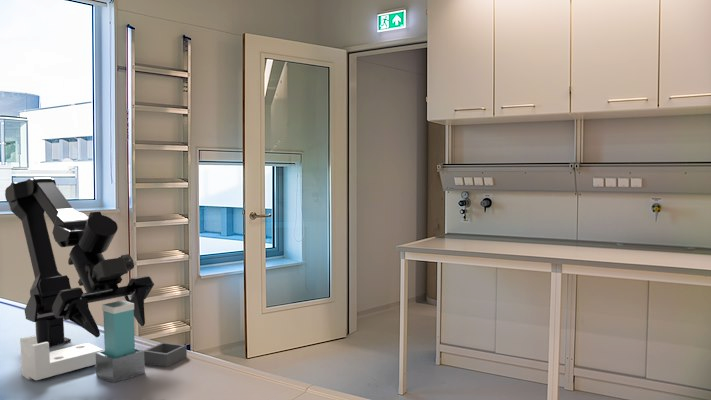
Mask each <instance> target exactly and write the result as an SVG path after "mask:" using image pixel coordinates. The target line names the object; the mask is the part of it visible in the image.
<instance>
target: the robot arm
mask: <svg viewBox="0 0 711 400" xmlns="http://www.w3.org/2000/svg"><path fill="white" fill-rule="evenodd" d="M4 196H5V200H6V203H8V205H9V209H10V211H11V212H12V213H13V214H14V215H15V216H16V217H17V218H18V219H19V220H20V221H21V222H22V223H21V224H22V227H23V231H24V232H23V233H24V236H25V237H24V238H25V241H26V246H27V249H28V250H27V251H28V253H29V258H30V262H31V266H32V270H33V275H34V280H33V282H32V285H31V287H30V289H29V296H30V297H29V299H28V301H27V303H26V306H25V308H24V316H25V319H26V320H28V321H30V322H32V323H35V324H34V325H35V336H36V337H37V344H39V343H43V342H49V348H51V347H55V346H58V345H59V346H60V345H61V344H66V343H70V342H71V341H72V339H71V338H68V337H66V336H65V326H64V325H65V324H64V321H70V322H72V323H74V324H76V325H78V326H80V327H81V328H83V329H84V330H86V331H87V332H88V333H89V334H91V335H92V336H94V337H95V338H99V337H100V336H101V333H100V330H99V326H98V325H97V322H96V320H95V318H94V316H93V314H92V312H91V311H90V309H89V303H90V304H91V303H96V302H101V301H102V302H103V301H108V300H112V299H118V298H123V297H124V299H125V301H127V302H131V303H134V319H136V322H137V323H138V324H139V325H140V327H144V326H145V323H146V315H145V300H146V299H147V297H148V295H149V294H150V292H151V290H153V288H154V286H155V283H154V281H153V279H152V277H150V275H149V276H148V275H143V276H136V277H131V278H130V280H129V281H128V283H127V284H126V285H124V286H120V287H119V286H118V285H119V284H121V283H122V281H123V278H122V277H123V275H124V276H125V275H127V274H128V273H129V272H130V271H131V270H133V269H134V268H135V263H134V259H133V257H132V256H131V255H130V253H128V254H121V255H120V256H119V257H116V258H108V259H107V258H106V259H105V256H104V255H103V253H105V252H107V250H108V249H109V247H110V245H111V243H112V241H113V239H114V237H115V235H116V233H117V231H118V229H119V228H118V223H117V221H115V220H114V219H112V218H111V217H109V216H106V215H105V214H102V212H101V211H90V213H89V215H88V216H87V214H85V212H84V213H83V212H81V211H77V210H76V209H74V208H73V206H72V205H71V203H70V202H69V201H68V199H66V198H65V196H64V194H63V193H62V192H61V190H60V189H59V187H57V184H56V181H55V178H53V177H52V178H51V177H50V176H44V177H42V176H41V177H31V178H28V179H27V180H23V181H19V182H17V181H16V182H15V181H14V182H13V181H12V182H11V183H10V185H8V186H7V187H6V188H5V191H4ZM45 213H46V215H47V217H49V219H50V221H51V222H52V223H53V227H52V236H53V239H54V241H55V242H56V243H57V245H58V246H59V247H60V248H69V247H72V248H71V250H70V252H69V257H68V260H67V261H68V262H67V263H68V266H71V265H72V266H74V269H75V271H76V273H77V275H78V278H79V279H78V281H77V284H78V285H79V287H73V288H72V287H71V282H70V278H69V277H68V275H66V274H65V275H63V274H61V273H60V272H59V270H58V267H57V262H56V257H55V255H54V254H55V253H54V249H53V246H52V242H51V239H50V234H49V229H48V226H47V222H46V217H45ZM81 286H83V288H84V291H85V292H84V291H83V289H82V288H81Z"/></svg>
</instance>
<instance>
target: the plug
mask: <svg viewBox="0 0 711 400" xmlns="http://www.w3.org/2000/svg"><path fill="white" fill-rule="evenodd" d="M101 309H102V311H103V335H104V336H103V337H104V340H103V341H104V342H103V343H104V350H105V355H107V356H109V357H111V358H117V357H120V356H124V355H127V354H131V353H135V347H136V345H135V317H134V303H131V302H128V301H126V300H117V301H114V302H113V301H112V302H108V303H103V304H102V305H101Z"/></svg>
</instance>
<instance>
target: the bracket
mask: <svg viewBox="0 0 711 400" xmlns="http://www.w3.org/2000/svg"><path fill="white" fill-rule="evenodd" d="M19 341H20V343H19V344H20V360H21V363H20V364H21V376H23V377H24V378H26V379H27V380H32V379H33V380H34V381H39V380H42V379H47V378H50V377H53V376H57V375H60V374H65V373H69V372H72V371H75V370H79V369H83V368H86V367H87V368H88V367H91V366H96V352H100V351H104V350H105V349H103V348H100V347H99V346H96V345H94V344H92V343H89V342H86V343H85V342H84V343H81V344H77V345H72V346H68V347H64V348H62V349H57V350H53V351H50V347H49V342H43V343H39V344H37V337H36V335H32V336H27V337H21V338H20V340H19Z"/></svg>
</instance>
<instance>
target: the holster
mask: <svg viewBox="0 0 711 400" xmlns="http://www.w3.org/2000/svg"><path fill="white" fill-rule="evenodd" d="M187 347H188V346H187V345H186V344H178V343H172V342H164V341H163V342H160V343H158V344H156V345H154V346H151V347H149V348H147V349H144V362H145V365H146V364H147V365H154V366H160V367H165V368H167V367H169V366H171V365H173V364H175V363H177V362H179V361H181V360H183V359H185V358H187V357H188V355H187V354H188V353H187Z"/></svg>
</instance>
